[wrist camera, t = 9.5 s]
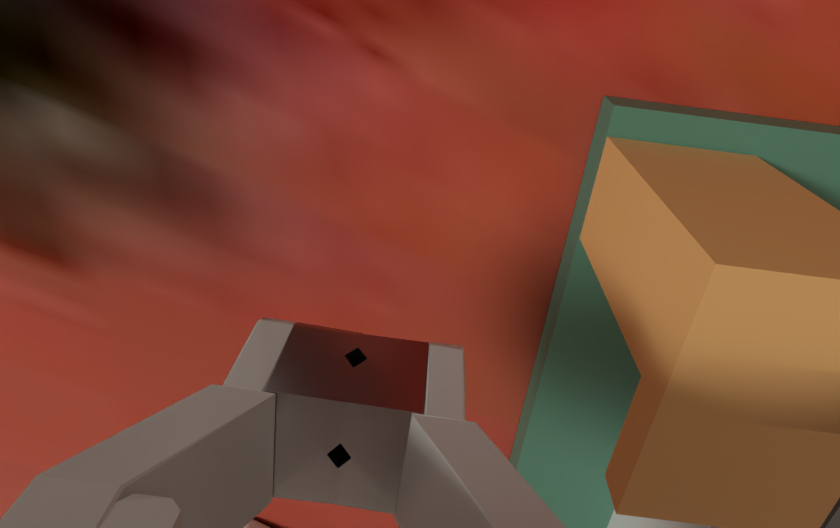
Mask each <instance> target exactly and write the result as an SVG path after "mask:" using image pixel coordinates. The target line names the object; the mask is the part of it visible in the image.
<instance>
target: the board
mask: <svg viewBox="0 0 840 528" xmlns="http://www.w3.org/2000/svg"><path fill="white" fill-rule="evenodd" d="M607 136H608V137H616V138H624V139H631V140H639V141H647V142H654V143H662V144H670V145H677V146H685V147H693V148H700V149H708V150H716V151H724V152H731V153H739V154H747V155H754V156H757V157H759V158H760V159H762V160H763V161H765V162H766V163H768V164H769V165H771V166H772V167H774V168H775V169H777V170H779V171H780V172H782V173H783V174H785V175H786V176H788V177H789V178H791V179H792V180H794V181H795V182H797V183H798V184H800V185H801V186H803V187H804V188H806V189H807V190H809V191H810V192H812V193H813V194H815V195H816V196H818V197H820V198H821V199H823V200H824V201H826V202H827V203H829V204H830V205H832V206H833V207H835V208H836V209H838V210H839V211H840V126H833V125H826V124H818V123H810V122H803V121H795V120H787V119H780V118H772V117H764V116H757V115H749V114H741V113H734V112H726V111H718V110H711V109H703V108H695V107H688V106H680V105H672V104H665V103H657V102H649V101H642V100H634V99H627V98H619V97H611V96H604V97H603V101H602V105H601V108H600V112H599V116H598V120H597V124H596V128H595V132H594V135H593V139H592V143H591V147H590V151H589V155H588V159H587V162H586V166H585V170H584V174H583V178H582V182H581V186H580V189H579V193H578V197H577V201H576V205H575V209H574V213H573V216H572V220H571V224H570V228H569V232H568V236H567V240H566V244H565V247H564V251H563V255H562V259H561V263H560V267H559V271H558V274H557V278H556V282H555V286H554V290H553V294H552V298H551V301H550V305H549V309H548V313H547V317H546V321H545V325H544V328H543V332H542V336H541V340H540V344H539V348H538V352H537V356H536V359H535V363H534V367H533V371H532V375H531V379H530V383H529V386H528V390H527V394H526V398H525V402H524V406H523V410H522V413H521V417H520V421H519V425H518V429H517V433H516V437H515V440H514V444H513V448H512V452H511V456H510V460H509V462H510V463H511V464H512V465H513V466H514V467H515V469H516V470H517V471H518V472H519V473H520V474H521V476H522V477H523V478H524V479H525V480H526V481H527V483H528V484H529V485H530V486H531V487H532V488H533V490H534V491H535V492H536V493H537V494H538V495H539V497H540V498H541V499H542V500H543V501H544V502H545V504H546V505H547V506H548V507H549V508H550V510H551V511H552V512H553V513H554V514H555V515H556V517H557V518H558V519H559V520H560V521H561V522H562V524H563V525H564V526H565V527H566V528H725V527H717V526H709V525H701V524H693V523H685V522H677V521H668V520H660V519H652V518H644V517H636V516H628V515H620V514H616V512H615V509H614V505H613V502H612V498H611V495H610V492H609V488H608V485H607V481H606V478H605V473H606V470H607V467H608V465H609V462H610V459H611V456H612V454H613V451H614V448H615V446H616V443H617V440H618V438H619V435H620V432H621V429H622V427H623V424H624V421H625V419H626V416H627V413H628V410H629V408H630V405H631V402H632V400H633V397H634V394H635V392H636V389H637V386H638V383H639V381H640V378H641V374H640V372H639V370H638V368H637V365H636V363H635V361H634V359H633V356H632V354H631V352H630V350H629V347H628V345H627V343H626V341H625V339H624V336H623V334H622V332H621V330H620V327H619V325H618V323H617V321H616V318H615V316H614V314H613V312H612V310H611V307H610V305H609V303H608V301H607V298H606V296H605V294H604V292H603V289H602V287H601V285H600V283H599V280H598V278H597V276H596V274H595V272H594V269H593V267H592V265H591V263H590V260H589V258H588V256H587V254H586V251H585V249H584V247H583V245H582V242H581V240H580V235H581V231H582V227H583V223H584V220H585V216H586V212H587V209H588V205H589V201H590V198H591V194H592V190H593V186H594V183H595V179H596V175H597V172H598V168H599V164H600V161H601V157H602V153H603V149H604V146H605V142H606V138H607Z"/></svg>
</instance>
